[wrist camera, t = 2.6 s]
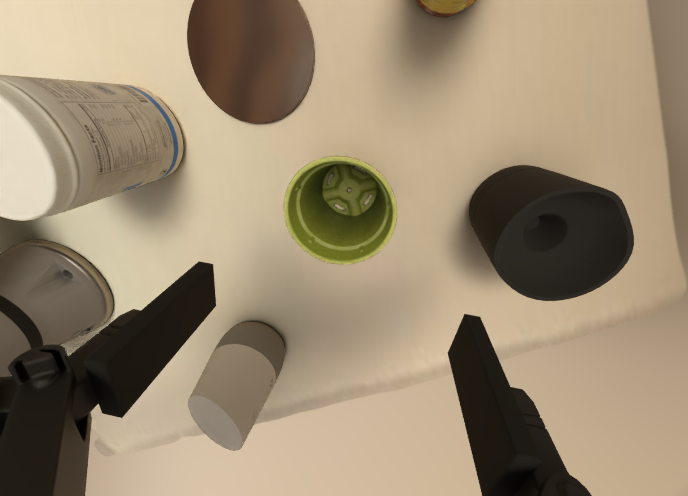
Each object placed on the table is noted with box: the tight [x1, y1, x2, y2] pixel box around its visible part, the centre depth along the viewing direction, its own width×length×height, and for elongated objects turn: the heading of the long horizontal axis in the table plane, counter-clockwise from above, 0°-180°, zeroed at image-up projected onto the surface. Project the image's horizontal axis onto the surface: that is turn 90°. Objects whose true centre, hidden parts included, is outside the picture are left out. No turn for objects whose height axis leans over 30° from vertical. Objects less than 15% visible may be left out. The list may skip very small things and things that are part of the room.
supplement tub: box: [0, 75, 183, 221], centre depth 26 cm, size 10×10×15 cm
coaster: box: [187, 0, 315, 123], centre depth 27 cm, size 12×12×1 cm
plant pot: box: [284, 156, 397, 264], centre depth 28 cm, size 9×9×9 cm
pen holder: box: [470, 165, 634, 301], centre depth 26 cm, size 9×9×10 cm
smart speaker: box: [188, 322, 285, 451], centre depth 38 cm, size 10×9×14 cm
